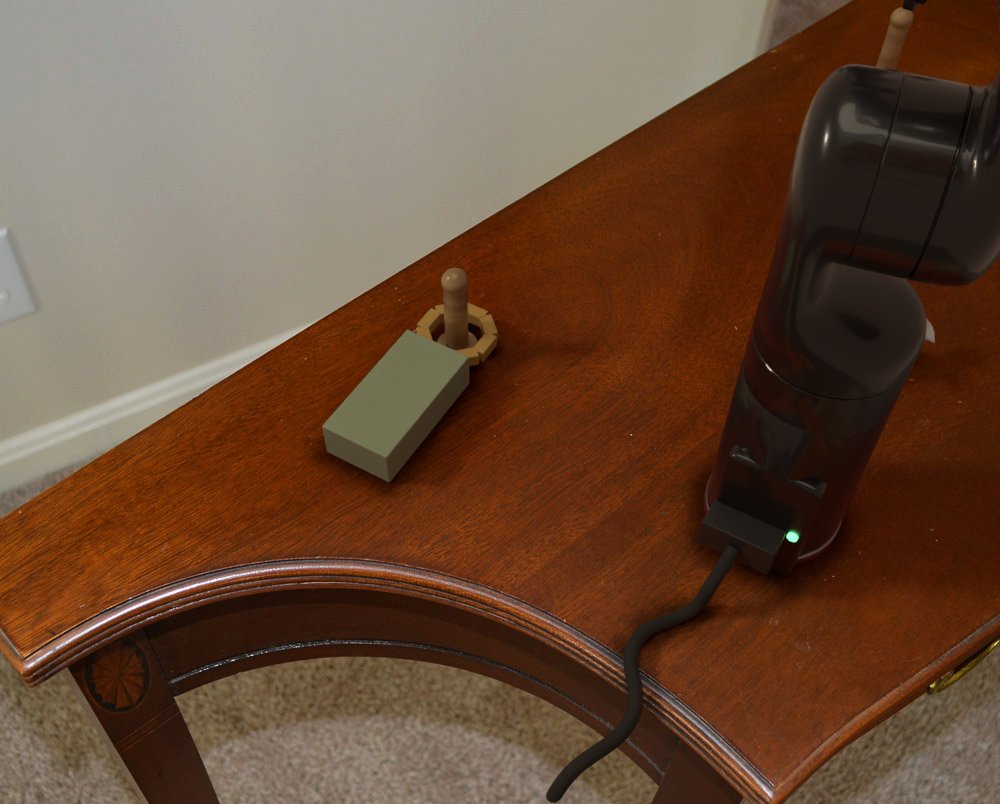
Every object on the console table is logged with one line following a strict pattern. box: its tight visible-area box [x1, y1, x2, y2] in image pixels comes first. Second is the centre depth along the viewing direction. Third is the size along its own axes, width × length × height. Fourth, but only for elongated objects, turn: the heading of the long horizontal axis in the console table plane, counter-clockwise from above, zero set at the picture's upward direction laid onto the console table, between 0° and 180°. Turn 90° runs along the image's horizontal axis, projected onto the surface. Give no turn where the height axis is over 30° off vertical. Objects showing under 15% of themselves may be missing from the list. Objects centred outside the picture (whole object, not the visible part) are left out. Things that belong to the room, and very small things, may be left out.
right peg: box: [875, 6, 914, 70], centre depth 102 cm, size 3×3×8 cm
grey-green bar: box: [321, 302, 499, 483], centre depth 81 cm, size 17×6×3 cm, turn 150°
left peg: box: [436, 267, 478, 351], centre depth 82 cm, size 3×3×8 cm
